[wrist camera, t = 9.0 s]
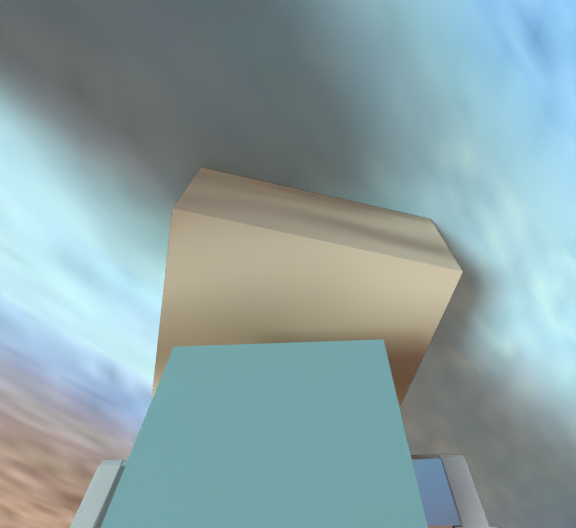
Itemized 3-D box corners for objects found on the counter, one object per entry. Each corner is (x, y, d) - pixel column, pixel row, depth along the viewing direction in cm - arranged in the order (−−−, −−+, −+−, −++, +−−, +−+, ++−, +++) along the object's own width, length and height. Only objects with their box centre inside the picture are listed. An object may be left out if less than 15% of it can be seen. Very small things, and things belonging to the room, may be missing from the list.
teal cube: (173, 346, 11) (85, 565, 7) (383, 339, 11) (436, 564, 6) (206, 482, 13) (156, 709, 9) (378, 480, 13) (415, 715, 9)
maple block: (203, 164, 16) (172, 208, 12) (428, 215, 16) (463, 272, 13) (178, 347, 19) (149, 421, 16) (362, 383, 20) (373, 462, 16)
